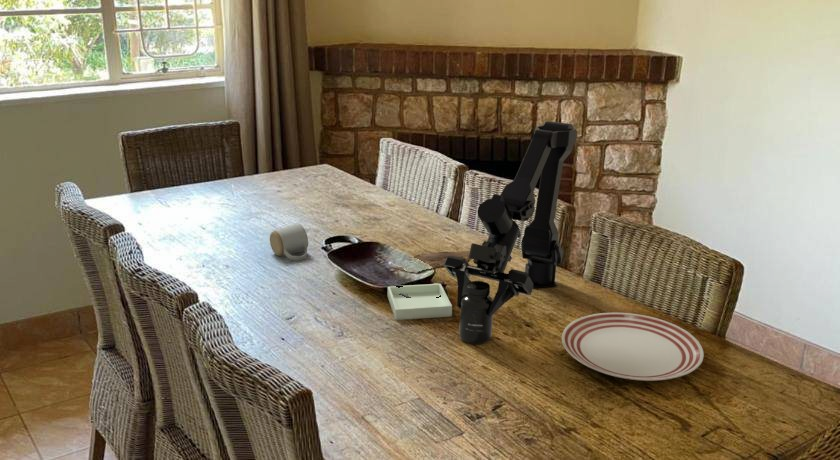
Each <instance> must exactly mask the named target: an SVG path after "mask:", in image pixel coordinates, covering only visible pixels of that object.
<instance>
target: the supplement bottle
mask: <svg viewBox="0 0 840 460" xmlns="http://www.w3.org/2000/svg"><path fill="white" fill-rule="evenodd" d="M470 281H471V282H469V283H468V284H467V287H466V294H465V295H464V296H463V297H462V299H461V307H460V308H459V309H460V310H459V311H460V312H459V329H458V332H459V333H458V336H459V338H460V339H461V340H462V341H463V342H465V343H467V344H470V345H483V344H487V343H488V342H490V341H491V339H492V333H493V319H494V318H493V317H494V314H493V315H492V316H489V315H488V312H489V309H490V306H491V304H492V302H493V299H494V298H493V297H492V296H491V286H490V284H489V283H488V282H485V281H483V280H482V281H481V280H470Z"/></svg>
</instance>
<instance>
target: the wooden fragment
mask: <svg viewBox="0 0 840 460" xmlns="http://www.w3.org/2000/svg"><path fill="white" fill-rule="evenodd" d="M469 252H470V250H469V251H468V250H465V251H441V252H440V251H438V252H430V253H429V252H428V253H427V252H426V253H421V254H416V255H415V256H413V257H414V258H417V259H419V260H421V261H423V262H424V263H427V264H429V265H430V266H432V267H433V268H434V269H436V268H437V269H438V268H441V267H443V268H445V267H444V266H443V265H444V262H445V260H446V258H447V257H449V256H450V255H452V256H456V257H461V258H465V260H466V261H467V263H468V262H469V261H470V260H471V259H470V258H468V257H469ZM392 269H393V270H397V271H399V270H400V272H404V271H405V270H404V269H403V268H402V267H398V266H397V265H395V266H393V268H392Z"/></svg>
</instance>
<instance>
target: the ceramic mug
mask: <svg viewBox="0 0 840 460" xmlns="http://www.w3.org/2000/svg"><path fill="white" fill-rule="evenodd" d="M269 244H270V245H269V246H270V248H271V249H272V252H273V253H274V254H275V255H276V256H277V257H284V256H285V257H286V258H287V259H289V260H291V261H295V262H299V261H303V260H304V259H305V258H307V256H308V246H309V238H308V233H307V232H306V229H305V227H304V226H303V225H302V224H301V223H298V222H296V223H293V224H290V225H287V226H283V227H280V228H277V229H275V230H272V232H271V233H270V235H269ZM301 252H304V253H303V255H299V256H295V255H294V254H297V253H301ZM292 254H293V255H292Z"/></svg>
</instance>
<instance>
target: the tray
mask: <svg viewBox="0 0 840 460" xmlns="http://www.w3.org/2000/svg"><path fill="white" fill-rule="evenodd" d="M402 286H403V287H400V288H398V287H396V286H395V285H393V286H387V298H388V301H389V302H388V303H389V305H390V309H391V311H392V314H393V316H394V319H395V321H401V320H402V321H403V320H418V319H432V318H433V319H435V318H447V317H448V318H449V317H453V304H452V303H451V301H450V299H449V297H448V295H447V293H446V291H445V289H444V288H443V286H442V284H441V283H430V284H427V283H426V284H413V285H412V284H409V285H402ZM400 293H406V294H408V296H409V297H411V298H406V297H404V296H402V295H399V294H400ZM440 295H441V297H439V296H440ZM436 297H439V298H436Z"/></svg>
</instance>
